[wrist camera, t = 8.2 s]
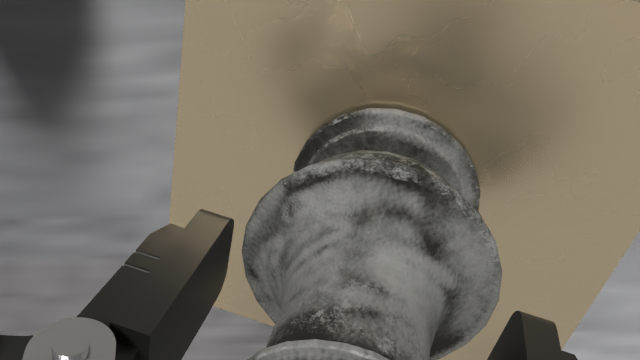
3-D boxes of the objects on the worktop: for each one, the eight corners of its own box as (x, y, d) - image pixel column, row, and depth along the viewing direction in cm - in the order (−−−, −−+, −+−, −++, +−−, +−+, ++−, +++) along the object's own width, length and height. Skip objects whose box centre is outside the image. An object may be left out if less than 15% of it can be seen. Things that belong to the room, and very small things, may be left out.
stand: (220, 186, 28) (125, 306, 20) (267, -173, 20) (136, -205, 12) (523, 282, 27) (547, 451, 19) (712, -64, 18) (896, -19, 10)
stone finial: (320, 61, 14) (-62, 615, 4) (534, 150, 14) (779, 968, 3) (258, 232, 17) (-38, 787, 7) (433, 304, 17) (406, 977, 7)
